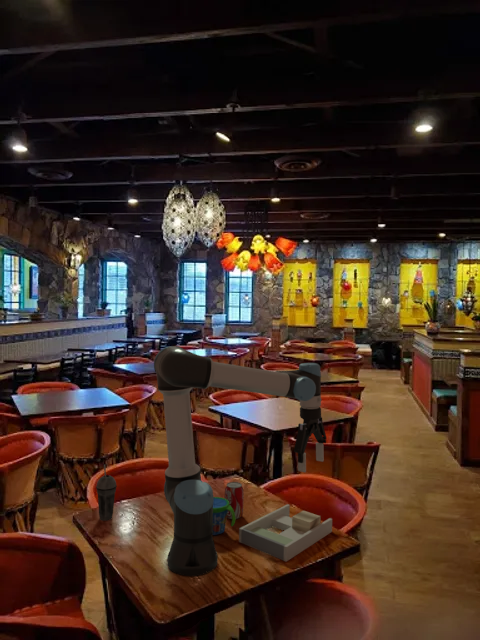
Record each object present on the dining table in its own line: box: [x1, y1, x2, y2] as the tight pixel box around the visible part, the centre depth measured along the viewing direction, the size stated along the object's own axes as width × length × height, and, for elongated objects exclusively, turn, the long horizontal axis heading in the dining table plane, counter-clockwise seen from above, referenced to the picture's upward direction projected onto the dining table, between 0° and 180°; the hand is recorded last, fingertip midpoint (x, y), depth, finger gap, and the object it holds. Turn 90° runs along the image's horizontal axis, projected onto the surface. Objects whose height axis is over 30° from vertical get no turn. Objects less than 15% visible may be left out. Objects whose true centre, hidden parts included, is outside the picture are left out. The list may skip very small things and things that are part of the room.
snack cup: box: [212, 496, 236, 536], centre depth 171 cm, size 16×10×10 cm
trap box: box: [238, 503, 333, 562], centre depth 168 cm, size 28×19×4 cm
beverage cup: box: [95, 464, 118, 522], centre depth 179 cm, size 7×7×20 cm
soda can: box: [224, 481, 245, 520], centre depth 183 cm, size 7×7×12 cm
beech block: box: [291, 510, 322, 533], centre depth 169 cm, size 7×7×4 cm
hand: (311, 466), depth 176 cm, fingers open, 13 cm apart
